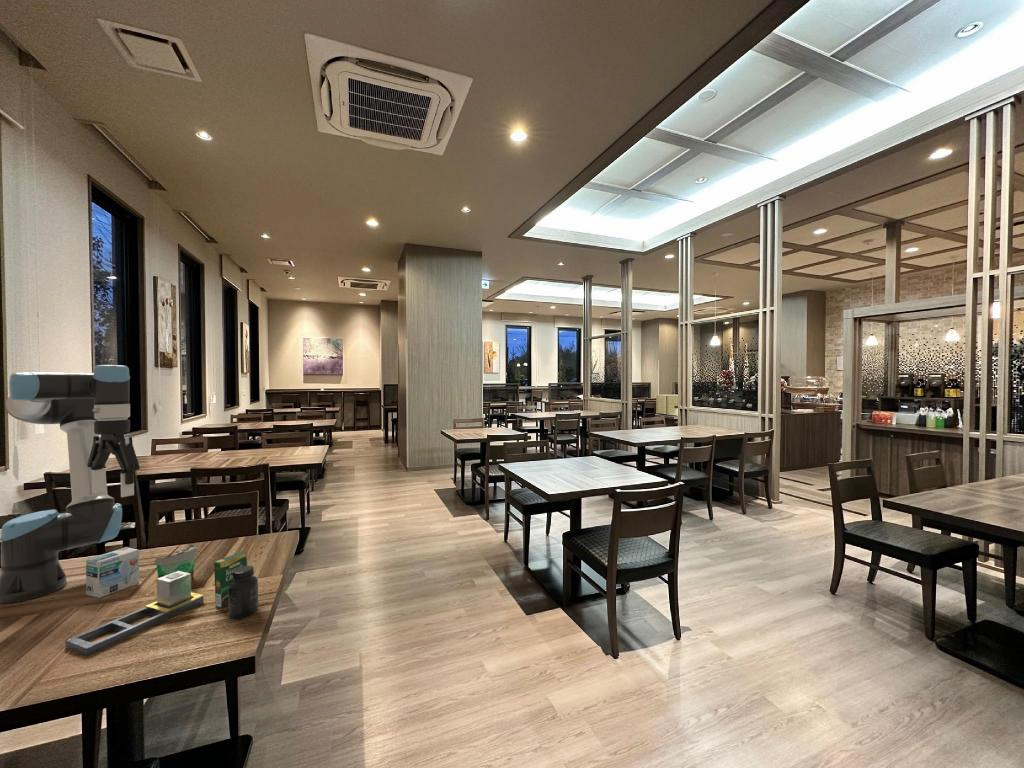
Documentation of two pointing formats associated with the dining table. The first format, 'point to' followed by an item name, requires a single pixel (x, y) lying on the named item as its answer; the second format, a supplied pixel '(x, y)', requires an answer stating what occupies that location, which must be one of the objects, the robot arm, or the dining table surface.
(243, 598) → the supplement bottle
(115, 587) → the light bulb box
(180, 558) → the food container
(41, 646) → the dining table surface
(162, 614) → the rail
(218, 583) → the coffee box
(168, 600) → the white rectangular block
